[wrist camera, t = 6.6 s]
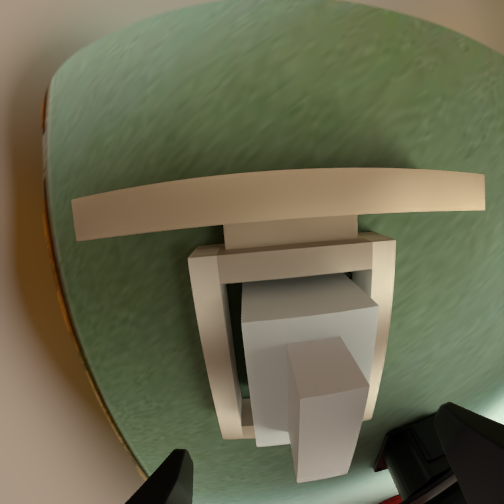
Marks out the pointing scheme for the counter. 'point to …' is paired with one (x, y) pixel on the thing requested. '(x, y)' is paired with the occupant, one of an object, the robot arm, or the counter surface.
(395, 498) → the plastic cup
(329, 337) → the grey stepped block
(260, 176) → the stand
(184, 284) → the counter surface
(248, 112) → the counter surface
